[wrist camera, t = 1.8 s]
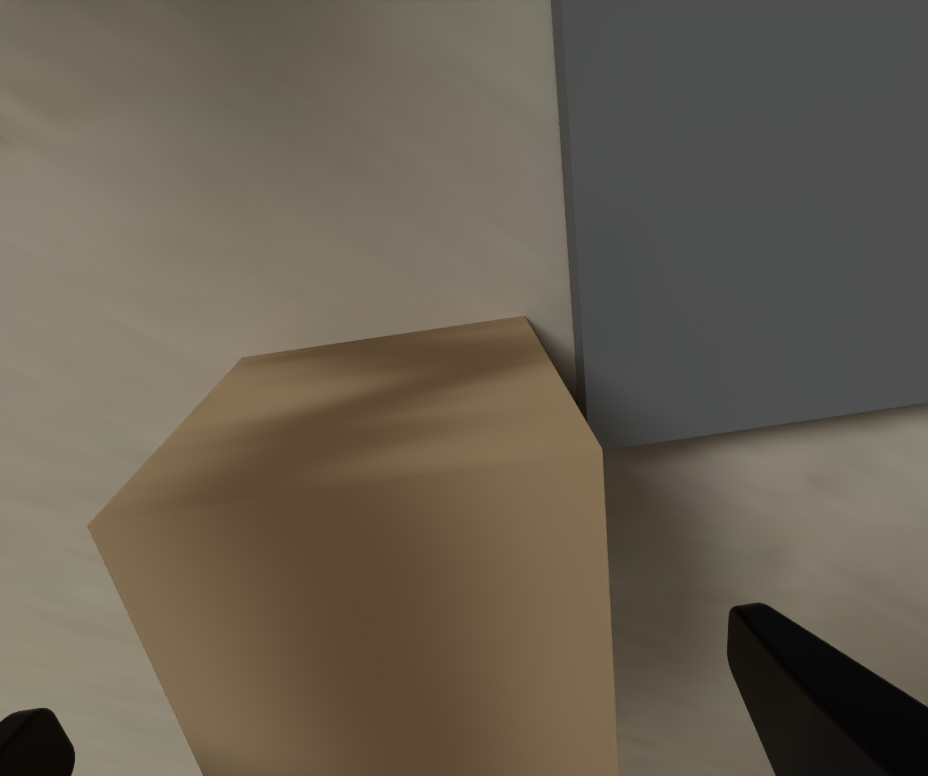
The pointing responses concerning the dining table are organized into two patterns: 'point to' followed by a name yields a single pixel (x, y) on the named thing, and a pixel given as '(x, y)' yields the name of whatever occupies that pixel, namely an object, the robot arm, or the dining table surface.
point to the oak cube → (378, 563)
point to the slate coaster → (743, 210)
